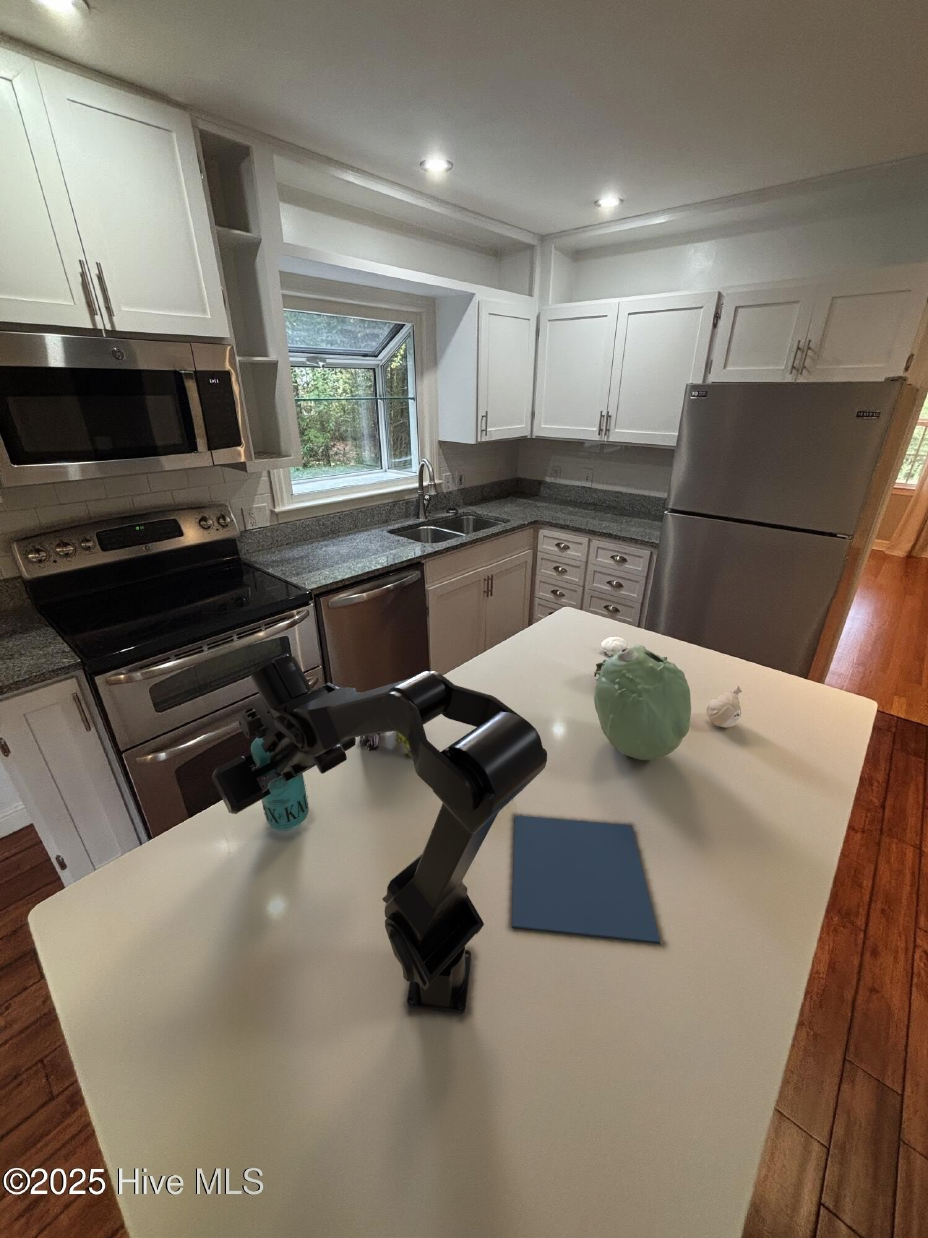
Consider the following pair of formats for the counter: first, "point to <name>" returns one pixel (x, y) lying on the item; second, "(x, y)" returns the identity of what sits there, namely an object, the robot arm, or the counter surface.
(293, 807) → the beverage bottle
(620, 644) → the dumpling
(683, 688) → the cabbage
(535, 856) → the cloth
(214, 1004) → the counter surface
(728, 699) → the garlic bulb
